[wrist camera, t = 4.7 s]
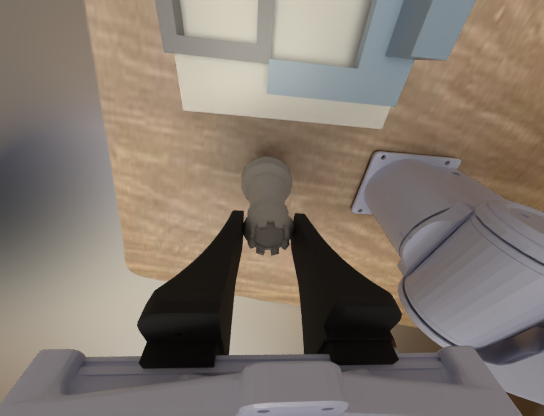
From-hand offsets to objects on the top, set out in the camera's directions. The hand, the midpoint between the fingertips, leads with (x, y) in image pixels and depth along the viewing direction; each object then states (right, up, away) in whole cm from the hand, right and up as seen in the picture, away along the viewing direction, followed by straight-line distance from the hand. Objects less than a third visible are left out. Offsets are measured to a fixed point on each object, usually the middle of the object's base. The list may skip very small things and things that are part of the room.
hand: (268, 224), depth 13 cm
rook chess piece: (0, +4, +5) cm, 7 cm away
